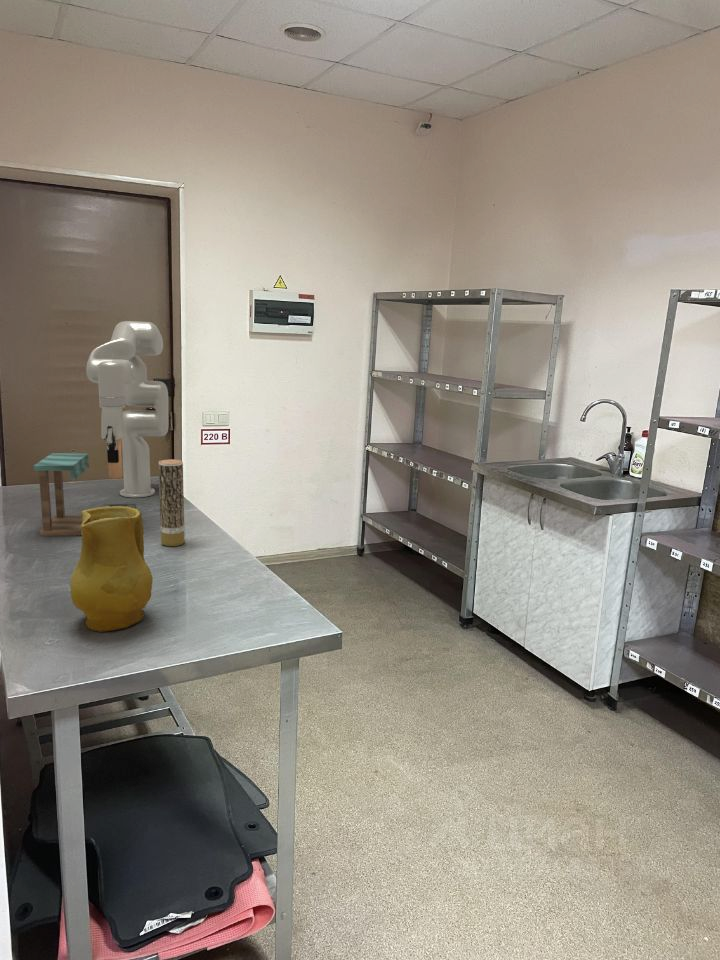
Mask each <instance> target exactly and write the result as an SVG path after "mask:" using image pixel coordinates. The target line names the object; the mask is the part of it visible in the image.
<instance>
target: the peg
mask: <svg viewBox="0 0 720 960" xmlns="http://www.w3.org/2000/svg"><path fill="white" fill-rule="evenodd" d="M112 440H115V438H112ZM114 443H115V442H114ZM121 447H122V438H120V439H118V440H117V450H118V452H119V462H118V463H108V462H107V465H108V478H109V479H121V478H123V452H122V453H121Z"/></svg>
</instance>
